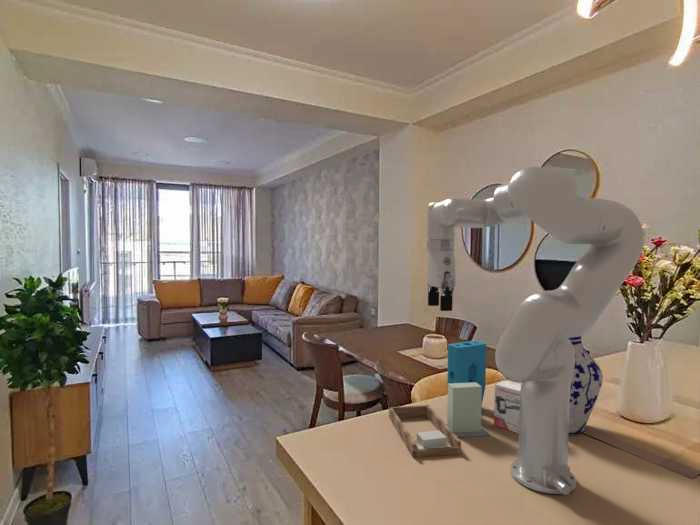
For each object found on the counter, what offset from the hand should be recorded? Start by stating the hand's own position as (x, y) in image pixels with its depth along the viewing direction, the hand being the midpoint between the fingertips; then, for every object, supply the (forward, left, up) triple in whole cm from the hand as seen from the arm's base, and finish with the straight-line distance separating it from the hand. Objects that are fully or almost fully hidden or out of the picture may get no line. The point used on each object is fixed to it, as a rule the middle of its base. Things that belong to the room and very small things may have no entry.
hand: (439, 308), depth 114 cm
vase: (-7, -33, -32) cm, 47 cm away
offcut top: (-14, +7, -31) cm, 35 cm away
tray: (-7, +7, -32) cm, 34 cm away
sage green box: (-6, -5, -32) cm, 33 cm away
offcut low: (-14, +7, -33) cm, 37 cm away
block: (+8, -12, -32) cm, 36 cm away
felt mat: (-6, -5, -32) cm, 33 cm away
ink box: (-6, -19, -33) cm, 38 cm away
